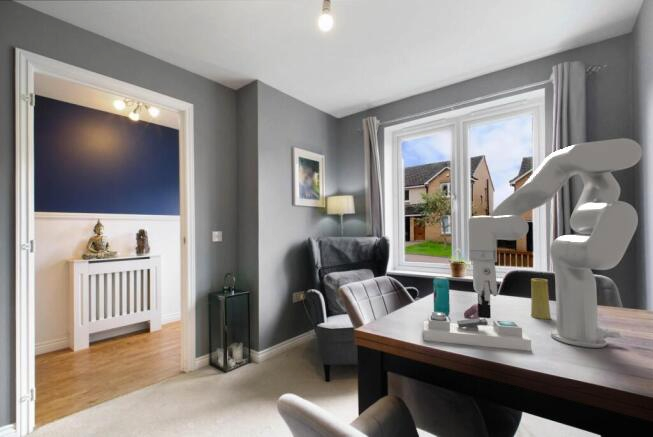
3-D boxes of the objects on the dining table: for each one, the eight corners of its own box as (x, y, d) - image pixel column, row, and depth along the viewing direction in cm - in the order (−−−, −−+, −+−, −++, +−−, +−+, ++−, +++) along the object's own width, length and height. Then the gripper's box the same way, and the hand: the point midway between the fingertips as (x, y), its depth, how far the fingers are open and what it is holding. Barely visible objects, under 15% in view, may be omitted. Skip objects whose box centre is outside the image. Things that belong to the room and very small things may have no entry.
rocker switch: (485, 320, 91) (484, 317, 91) (487, 324, 87) (486, 320, 87) (457, 324, 93) (456, 320, 93) (459, 327, 89) (458, 323, 90)
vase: (531, 313, 117) (529, 277, 117) (550, 316, 113) (549, 279, 114) (530, 317, 112) (529, 279, 113) (551, 320, 108) (549, 281, 109)
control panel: (519, 338, 90) (518, 320, 91) (531, 350, 81) (530, 330, 81) (423, 329, 99) (423, 313, 99) (424, 340, 89) (423, 321, 89)
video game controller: (482, 328, 104) (491, 311, 104) (469, 322, 105) (478, 305, 105) (473, 320, 114) (481, 304, 114) (462, 314, 115) (470, 298, 114)
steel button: (444, 320, 94) (444, 312, 94) (446, 323, 90) (445, 315, 90) (431, 319, 95) (431, 311, 95) (432, 322, 92) (432, 314, 92)
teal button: (512, 330, 88) (512, 322, 89) (517, 334, 85) (516, 326, 85) (497, 329, 90) (497, 321, 90) (501, 333, 86) (501, 325, 86)
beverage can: (432, 313, 118) (431, 276, 119) (447, 314, 117) (446, 276, 118) (435, 317, 112) (435, 278, 113) (451, 318, 112) (450, 278, 112)
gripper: (503, 258, 82) (505, 326, 81) (490, 254, 96) (492, 311, 95) (473, 258, 84) (474, 323, 83) (465, 254, 98) (466, 310, 97)
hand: (484, 317), depth 89 cm, fingers closed
